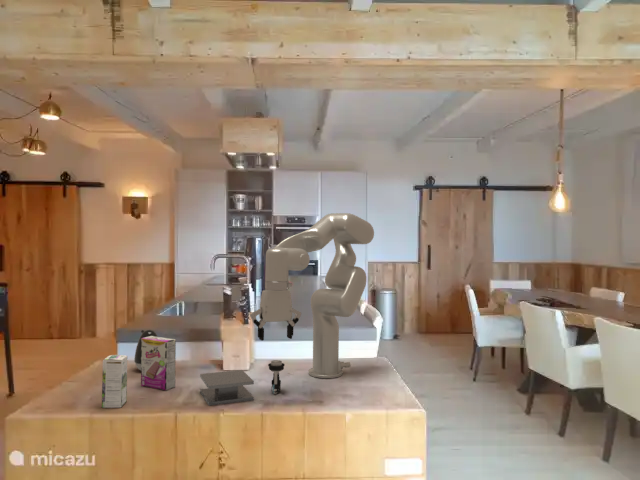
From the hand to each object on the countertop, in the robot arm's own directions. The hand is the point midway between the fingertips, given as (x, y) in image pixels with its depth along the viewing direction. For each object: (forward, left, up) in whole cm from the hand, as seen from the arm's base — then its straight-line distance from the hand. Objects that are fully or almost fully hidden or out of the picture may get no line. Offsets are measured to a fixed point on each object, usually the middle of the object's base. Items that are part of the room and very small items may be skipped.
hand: (275, 338), depth 170 cm
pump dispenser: (+36, -43, -18) cm, 59 cm away
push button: (0, 0, -18) cm, 18 cm away
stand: (+16, -2, -18) cm, 24 cm away
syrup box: (+49, -6, -18) cm, 52 cm away
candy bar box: (+35, -20, -18) cm, 44 cm away
